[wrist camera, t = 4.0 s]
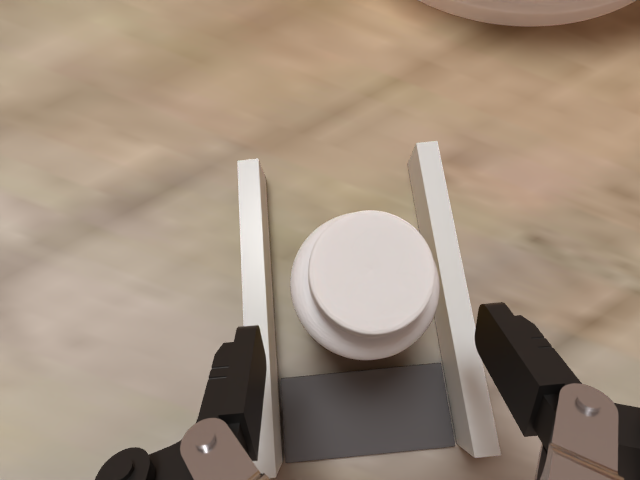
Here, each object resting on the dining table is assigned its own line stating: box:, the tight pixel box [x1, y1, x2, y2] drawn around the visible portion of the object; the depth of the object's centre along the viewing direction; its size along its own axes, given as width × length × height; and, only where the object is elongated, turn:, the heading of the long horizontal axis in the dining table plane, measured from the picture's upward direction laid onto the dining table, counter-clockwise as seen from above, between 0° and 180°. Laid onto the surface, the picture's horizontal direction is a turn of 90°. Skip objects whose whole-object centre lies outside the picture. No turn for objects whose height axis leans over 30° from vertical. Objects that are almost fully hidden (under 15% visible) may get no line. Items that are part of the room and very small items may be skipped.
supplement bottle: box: [290, 210, 440, 360], centre depth 16 cm, size 6×6×10 cm
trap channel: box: [237, 141, 501, 478], centre depth 20 cm, size 16×11×2 cm
